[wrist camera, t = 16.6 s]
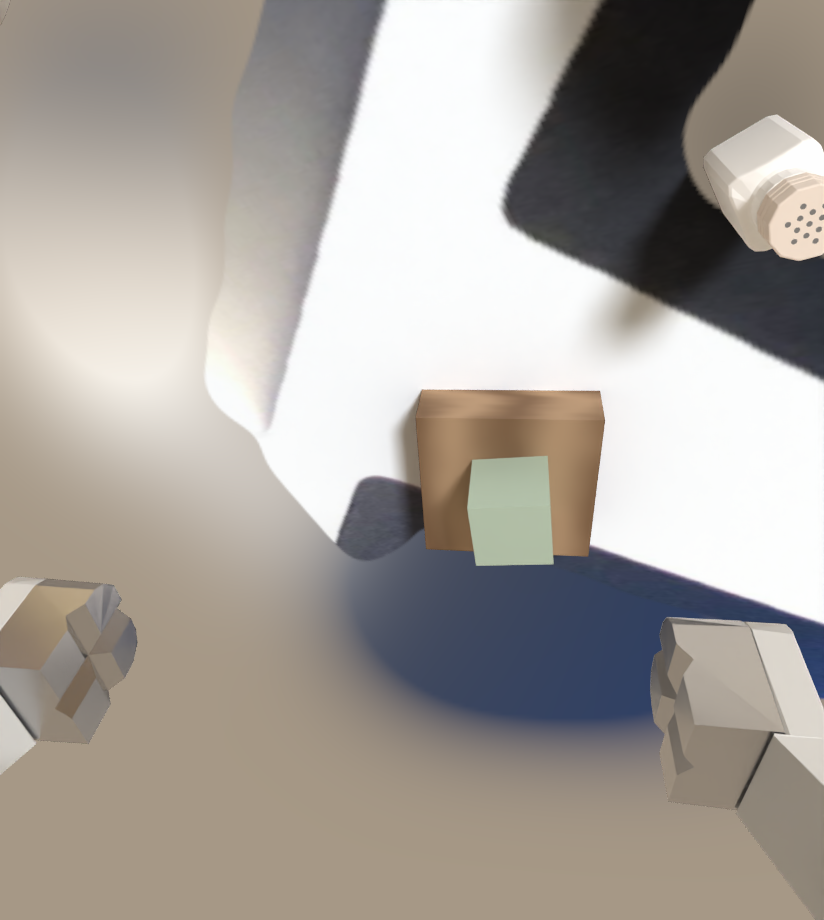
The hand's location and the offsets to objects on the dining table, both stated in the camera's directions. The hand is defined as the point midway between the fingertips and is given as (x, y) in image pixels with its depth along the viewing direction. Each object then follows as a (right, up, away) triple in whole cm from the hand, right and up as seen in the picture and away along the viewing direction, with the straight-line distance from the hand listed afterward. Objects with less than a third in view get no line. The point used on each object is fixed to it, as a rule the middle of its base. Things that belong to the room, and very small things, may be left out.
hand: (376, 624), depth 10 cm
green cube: (+7, +1, +36) cm, 37 cm away
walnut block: (+8, +3, +39) cm, 40 cm away
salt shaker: (+18, +18, +25) cm, 36 cm away
